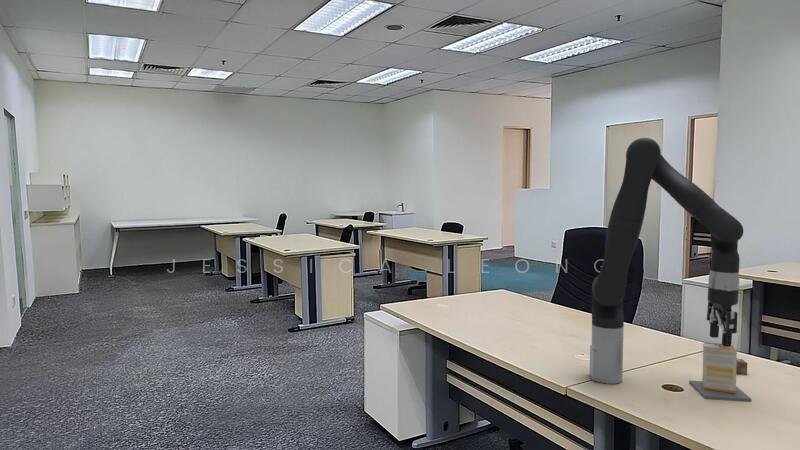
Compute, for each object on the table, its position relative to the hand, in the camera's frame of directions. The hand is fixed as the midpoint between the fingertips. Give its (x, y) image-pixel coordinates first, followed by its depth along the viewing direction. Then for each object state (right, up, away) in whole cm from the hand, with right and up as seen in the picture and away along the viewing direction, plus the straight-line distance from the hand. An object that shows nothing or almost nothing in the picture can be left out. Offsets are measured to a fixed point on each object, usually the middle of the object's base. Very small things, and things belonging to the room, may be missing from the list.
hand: (719, 341), depth 152 cm
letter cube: (+16, -14, +17) cm, 27 cm away
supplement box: (0, -14, +1) cm, 14 cm away
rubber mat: (0, -15, +1) cm, 15 cm away
